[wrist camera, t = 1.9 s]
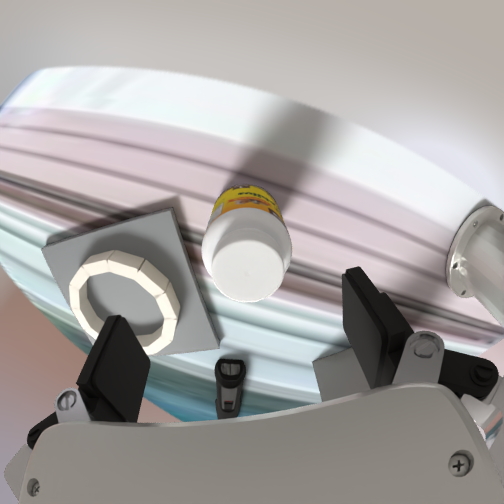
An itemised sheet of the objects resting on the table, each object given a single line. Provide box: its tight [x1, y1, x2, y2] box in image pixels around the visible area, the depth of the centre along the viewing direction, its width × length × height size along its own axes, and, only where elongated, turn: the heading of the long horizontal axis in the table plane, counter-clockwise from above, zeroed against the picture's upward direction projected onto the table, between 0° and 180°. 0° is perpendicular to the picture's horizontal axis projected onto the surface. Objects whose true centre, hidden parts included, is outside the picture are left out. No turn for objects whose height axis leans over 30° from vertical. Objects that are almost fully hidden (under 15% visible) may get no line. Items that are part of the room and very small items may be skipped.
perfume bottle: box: [312, 347, 371, 402], centre depth 26 cm, size 7×7×18 cm
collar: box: [41, 207, 220, 356], centre depth 26 cm, size 16×16×3 cm
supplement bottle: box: [202, 184, 292, 302], centre depth 20 cm, size 6×6×10 cm
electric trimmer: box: [215, 359, 246, 420], centre depth 34 cm, size 4×16×3 cm, turn 174°
